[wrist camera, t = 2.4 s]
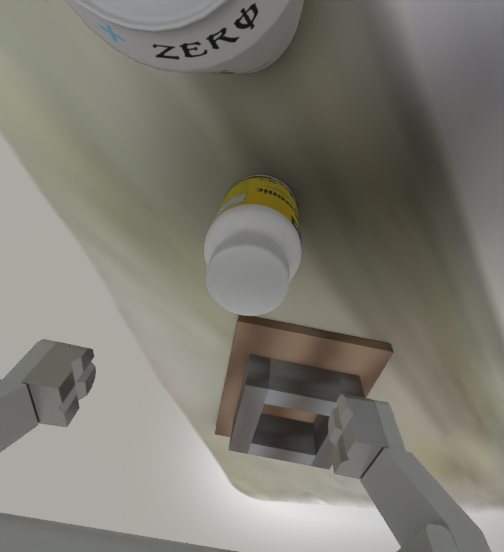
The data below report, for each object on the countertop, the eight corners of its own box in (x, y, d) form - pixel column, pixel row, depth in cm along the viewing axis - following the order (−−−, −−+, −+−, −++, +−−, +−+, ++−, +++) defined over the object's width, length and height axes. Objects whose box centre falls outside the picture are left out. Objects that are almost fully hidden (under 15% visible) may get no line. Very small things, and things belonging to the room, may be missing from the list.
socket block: (390, 344, 29) (406, 384, 25) (329, 447, 38) (333, 488, 35) (239, 313, 28) (232, 350, 25) (216, 426, 38) (208, 464, 34)
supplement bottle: (312, 217, 23) (327, 297, 15) (254, 255, 25) (238, 343, 17) (268, 155, 21) (256, 207, 13) (208, 202, 23) (165, 273, 15)
